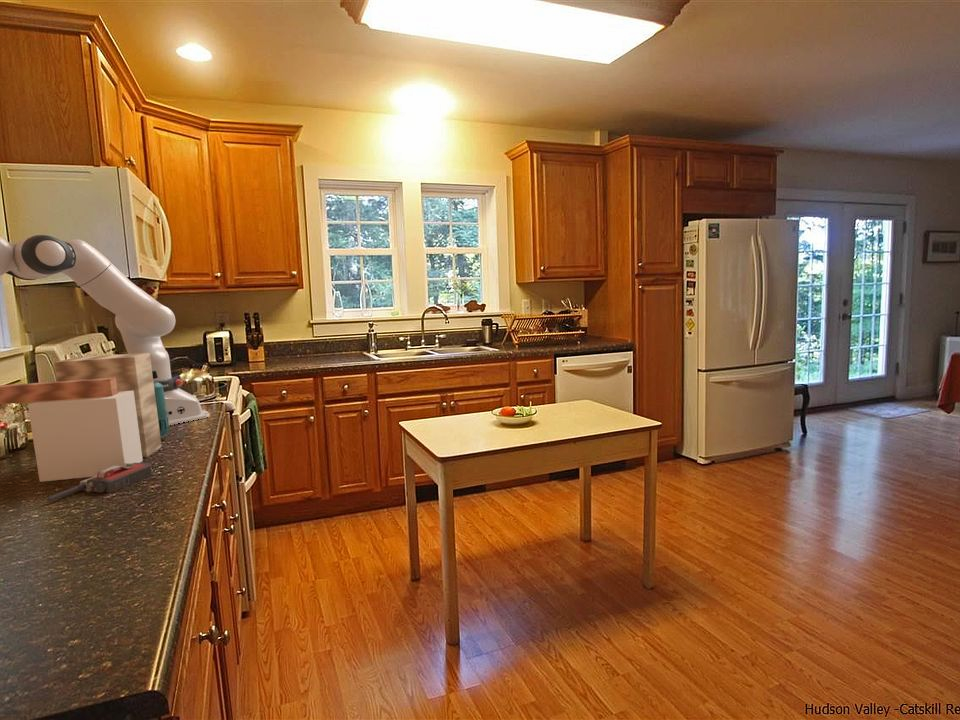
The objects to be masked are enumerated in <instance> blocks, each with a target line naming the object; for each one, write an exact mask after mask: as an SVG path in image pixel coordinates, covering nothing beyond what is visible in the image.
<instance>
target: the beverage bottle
mask: <svg viewBox="0 0 960 720" xmlns="http://www.w3.org/2000/svg"><path fill="white" fill-rule="evenodd" d="M152 374H153V379H156V378H158V376H157V372H156V371H152ZM154 390H155V398H156V406H157V414H158V422H159V430H160V437H163V436H167V435H168V434H169V432H170V426H168V425H169V423H168V417H167V412H166V403H165V402H166V401H165V397H164V391H163V385H162V384H160V383H159V382H154Z"/></svg>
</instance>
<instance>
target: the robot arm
mask: <svg viewBox="0 0 960 720" xmlns="http://www.w3.org/2000/svg"><path fill="white" fill-rule="evenodd" d="M59 273H62V274H64V275H66V276H67V277H68V278H70V279H71V280H72V281H73V282H74V283H75V284H76V285H77V286H79V287H80V288H81V290H83V291H84V292H85V293H86V294H87V295H88V296H89V297H90V298H92V299H93V300H94V301H95V302H96V303H97V304H98V305H100V306H101V307H102V308H104V309H106V310H108V311H110V312H111V313H113V314H114V315H115V317H114V322H115V326H116V328H117V329H118V331H119V333H120V335H121V339H122V341H123V343H124V348H125V350H126V352H127V353H126V354H137V353H150V359H151V367H152V371H156V372H157V376H158V378H156V379H153V382H159V383H160V384H162V385H163V391H164V397H165V401H166V402H165V403H166V412H167V417H168V423H169V425H168V427H171V426H175V425H179V424H178V423H180V424H184V423H183V422H185V423H189V422H194V421H197V420H198V419H199V420H202V419H207V417H208V418H210V416H211V415H210V412H209V410H208V411H207V410H204V409H202V405H201V403H200V401H199V399H198V398H197V397H196V396H194V395H192V394H191V393H189V392H187V391H185V390H183V389H181V388H180V387H182V385H184V381H183V380H182V379H179V378H178V379H177V378H174V377H172V372H171V371H172V370H171V361H170V360H171V359H170V356H169V353H168V351H167V350H166V348H165V346H164V344H163V341H162V339H161V338H162V337H163V336H166V335H169V334H170V333H171V332H172V331H173V330H174V328H175V326H176V322H177V321H176V316H175V313H174V312H173V311H172V309H170V308H169V307H167V306H165V305H164V304H162V303H161V302H159V301H158V300H156V299H155V298H154V297H153V296H151V295H150V294H148V293H147V292H146V291H144V290H143V289H141V288H140V287H139V286H137V285H136V284H135V283H134V282H132V281H131V280H130V279H129V278H128V277H127V276H126V275H125V274H124V273H122V271H121V270H119V268H117V266H115V265H114V264H113V263H112V262H111V261H110V260H109V259H108V258H107V257H106V256H105V255H104V254H103V253H101V252H100V251H99V250H98V249H96V248H95V247H94V246H92V245H91V244H89V243H87V242H86V241H85V240H82V239H78V238H75V239H74V238H73V239H68V240H67V241H64V240H61V239H59V238H57V237H54V236H50V235H46V234H45V235H44V234H37V235H32V236H29V237H26V238H22V239H20V240H18V241H16V242H10V241H7V240H6V239H4V238H3V237H1V236H0V277H2V276H3V275H4V274H7V275H9V276H11V277H14V278H17V279H19V280H23V281H36V280H40V279H45V278H48V277H49V278H50V277H51V276H53V275H55V274H59ZM193 420H194V421H193ZM188 421H189V422H188ZM174 424H175V425H174ZM170 425H171V426H170Z"/></svg>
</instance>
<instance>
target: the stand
mask: <svg viewBox="0 0 960 720" xmlns="http://www.w3.org/2000/svg"><path fill="white" fill-rule="evenodd" d="M53 364H54V369H55V377H56V381H71V380H86V379H100V378H115V377H116V384H117V391H118V392H120V391H134V397H135V405H136V412H137V420H138V428H139V435H140V443H141V451H142V458H143V457H145V458H149V457H150V456H152V454H154V453H155V452H157V451H158V450H159V449H161V448H162V440H161V436H160V430H159V422H158V414H157V406H156V398H155V390H154V382H153V374H152V367H151V359H150V353H137V354H128V353H123V354H108V355H107V354H106V355H93V356H92V355H91V356H76V357H71V358H67V359H63V360H62V359H61V360H58V361H54V362H53ZM143 459H144V458H143Z"/></svg>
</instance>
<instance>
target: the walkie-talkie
mask: <svg viewBox="0 0 960 720" xmlns="http://www.w3.org/2000/svg"><path fill="white" fill-rule="evenodd" d="M115 469H116V470H115ZM152 475H153V472H152V466H151V463H148V462H147V463H146V462H140V463H125V466H112V467H109V468H107V469H104V470H101V471H99V472H98V474H97V476H94V477H88V478H87V479H83V480H80V481H79V484H77V485H76V486H74V487H70V488H68V489H65V490H63V491H60V492H58V493H55V494H53V495H49V496H48V497H47V498H46V501H47V502H54V501H55V500H57V499H60V498H63V497H66V496H68V495H71V494H74V493H77V492H80V491H86V492H87V493H90V492H97V493H99V494H102V493H109V494H110V493H114V492H116V491H119V490H121V489H122V488H125V487H129V486H130V485H133V484H135V483H138V482H140V481H143V480H144V479H147V478H150V477H152ZM118 489H119V490H118ZM113 491H114V492H113Z"/></svg>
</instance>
